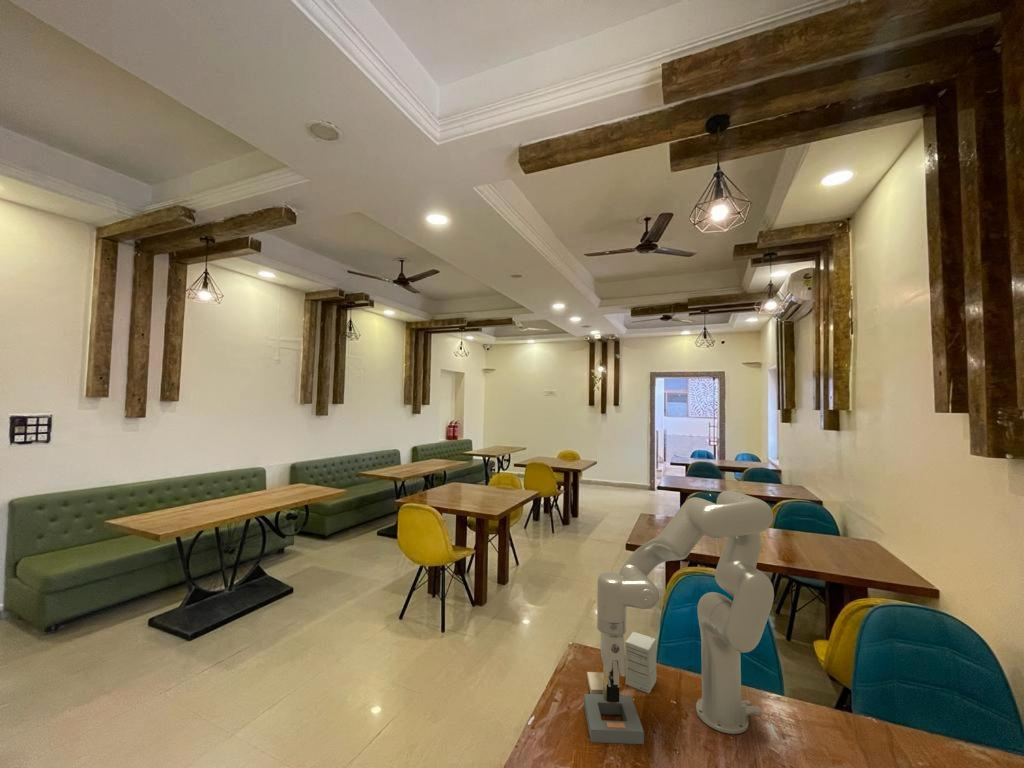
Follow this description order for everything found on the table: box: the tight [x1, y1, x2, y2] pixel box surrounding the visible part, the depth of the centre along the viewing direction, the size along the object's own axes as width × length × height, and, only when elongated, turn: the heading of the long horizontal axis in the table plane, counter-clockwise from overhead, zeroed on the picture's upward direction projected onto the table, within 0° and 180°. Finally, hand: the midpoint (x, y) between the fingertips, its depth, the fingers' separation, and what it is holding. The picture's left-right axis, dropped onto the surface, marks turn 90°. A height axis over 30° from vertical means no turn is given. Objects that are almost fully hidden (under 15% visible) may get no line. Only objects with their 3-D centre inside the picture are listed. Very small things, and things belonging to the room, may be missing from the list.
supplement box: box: [624, 631, 657, 694], centre depth 127 cm, size 7×7×13 cm
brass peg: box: [602, 664, 616, 703], centre depth 111 cm, size 4×4×8 cm
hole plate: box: [583, 693, 645, 745], centre depth 110 cm, size 13×13×3 cm
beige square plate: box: [586, 671, 603, 695], centre depth 124 cm, size 8×8×2 cm
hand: (611, 694), depth 111 cm, fingers closed on brass peg, 4 cm apart
